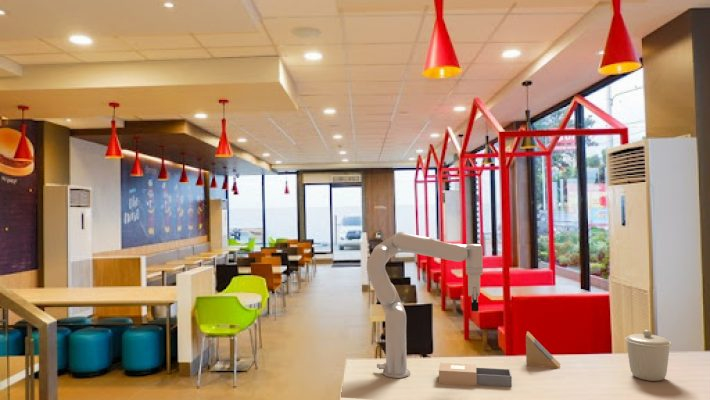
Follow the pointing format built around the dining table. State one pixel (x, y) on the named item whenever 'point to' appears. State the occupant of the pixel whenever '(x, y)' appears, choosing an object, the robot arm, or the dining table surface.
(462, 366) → the mailer sleeve
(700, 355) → the dining table surface
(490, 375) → the tray
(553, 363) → the sandwich container
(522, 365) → the dining table surface
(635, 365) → the canister
